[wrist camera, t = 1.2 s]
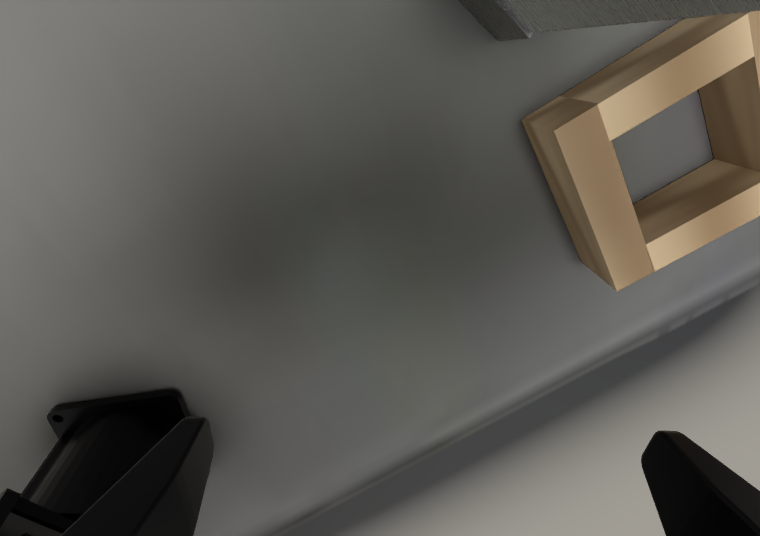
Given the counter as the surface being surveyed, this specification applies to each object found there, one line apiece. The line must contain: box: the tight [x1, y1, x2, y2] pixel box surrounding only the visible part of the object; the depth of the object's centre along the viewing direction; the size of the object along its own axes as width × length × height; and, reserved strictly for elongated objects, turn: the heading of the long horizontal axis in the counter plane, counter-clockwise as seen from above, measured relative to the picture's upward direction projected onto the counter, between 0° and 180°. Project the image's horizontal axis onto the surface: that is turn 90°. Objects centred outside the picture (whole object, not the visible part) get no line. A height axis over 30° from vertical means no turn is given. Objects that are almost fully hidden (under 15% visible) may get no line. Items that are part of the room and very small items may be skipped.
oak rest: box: [521, 11, 760, 291], centre depth 18 cm, size 9×8×3 cm
